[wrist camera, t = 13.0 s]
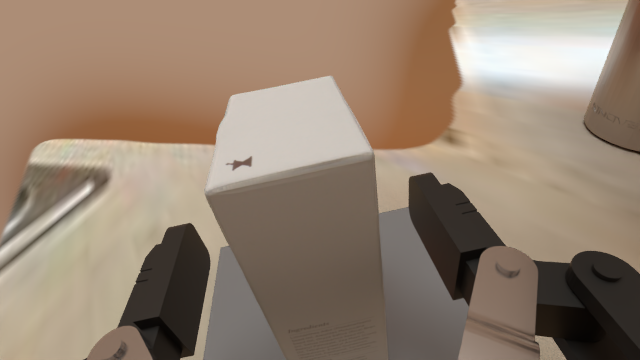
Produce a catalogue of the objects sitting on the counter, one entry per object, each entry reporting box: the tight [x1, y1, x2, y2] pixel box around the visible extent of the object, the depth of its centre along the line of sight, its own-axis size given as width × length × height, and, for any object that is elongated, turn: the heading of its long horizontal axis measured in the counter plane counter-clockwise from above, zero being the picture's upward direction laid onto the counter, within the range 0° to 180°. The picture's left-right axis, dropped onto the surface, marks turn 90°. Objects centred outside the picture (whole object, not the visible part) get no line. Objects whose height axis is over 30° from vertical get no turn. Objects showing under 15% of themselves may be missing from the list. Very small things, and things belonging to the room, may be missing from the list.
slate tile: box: [203, 207, 469, 360], centre depth 17 cm, size 14×14×1 cm
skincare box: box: [204, 76, 388, 360], centre depth 13 cm, size 6×4×12 cm
